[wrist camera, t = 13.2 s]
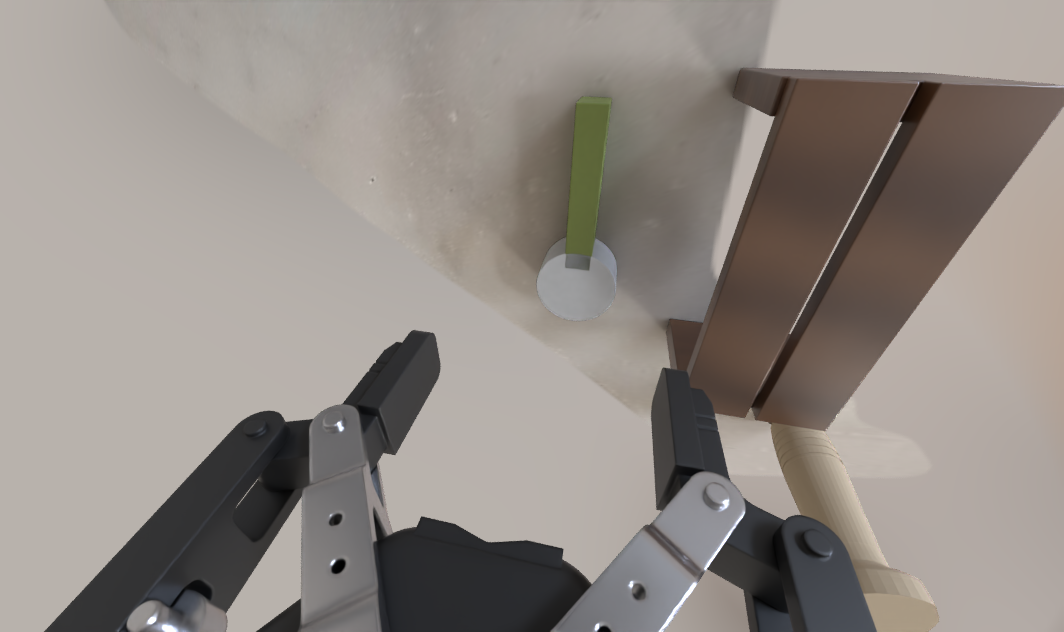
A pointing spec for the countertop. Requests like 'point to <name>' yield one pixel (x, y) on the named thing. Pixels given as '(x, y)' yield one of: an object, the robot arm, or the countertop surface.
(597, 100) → the green handled white cylinder
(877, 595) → the handle
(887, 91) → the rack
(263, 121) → the countertop surface
